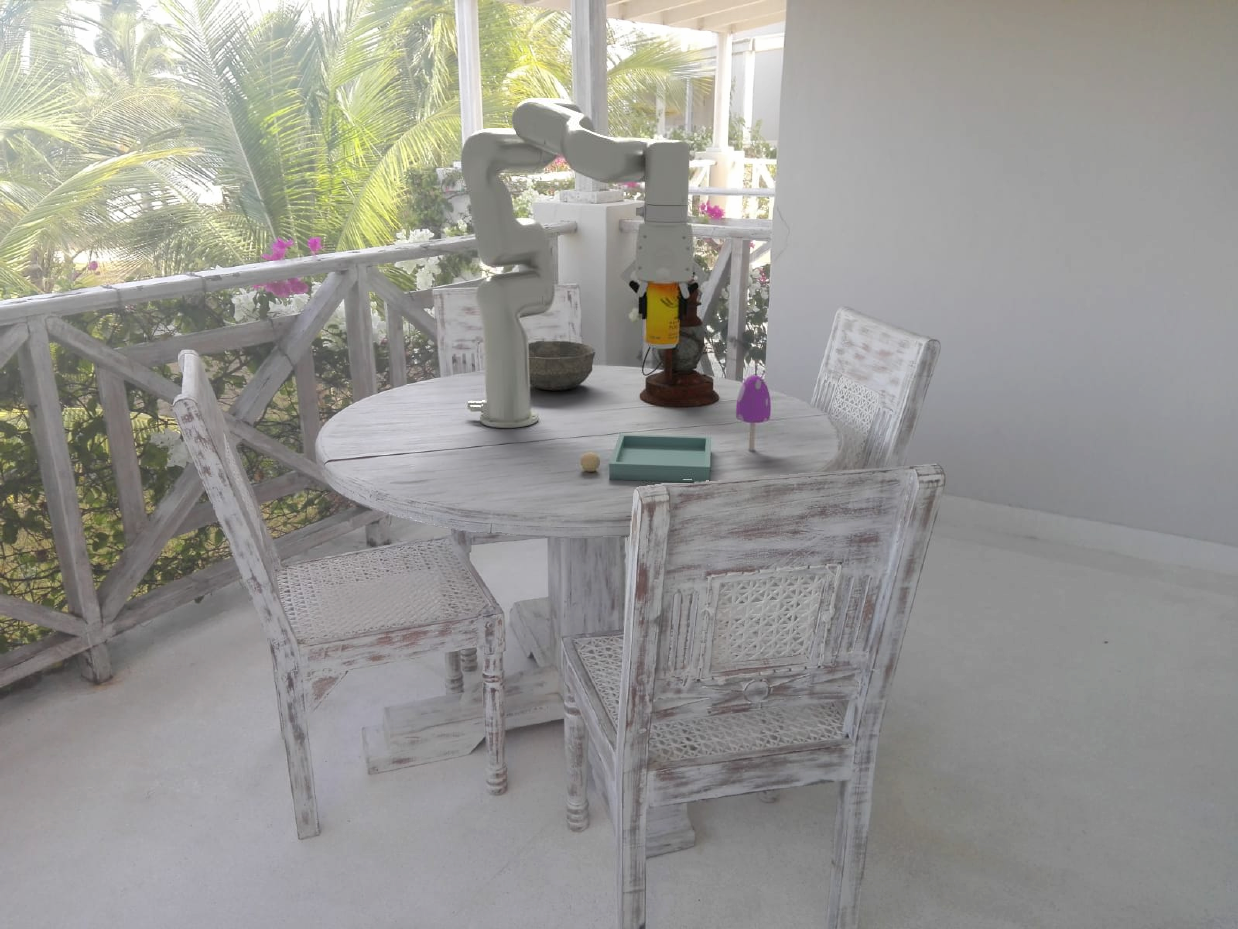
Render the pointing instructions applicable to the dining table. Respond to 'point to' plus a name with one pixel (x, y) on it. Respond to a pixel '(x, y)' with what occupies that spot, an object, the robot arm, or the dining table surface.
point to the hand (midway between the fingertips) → (663, 317)
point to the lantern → (681, 367)
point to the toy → (753, 404)
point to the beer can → (662, 311)
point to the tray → (661, 458)
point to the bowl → (559, 364)
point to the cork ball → (590, 461)
